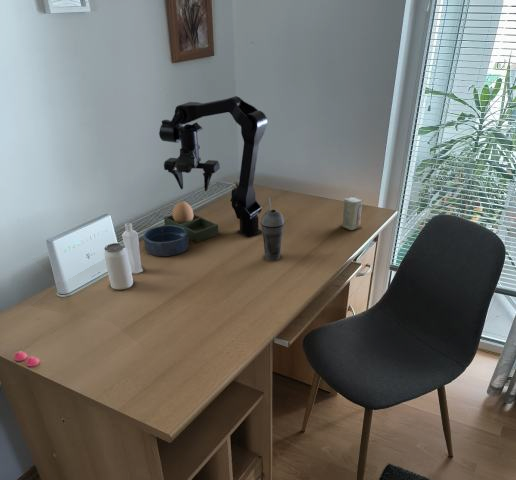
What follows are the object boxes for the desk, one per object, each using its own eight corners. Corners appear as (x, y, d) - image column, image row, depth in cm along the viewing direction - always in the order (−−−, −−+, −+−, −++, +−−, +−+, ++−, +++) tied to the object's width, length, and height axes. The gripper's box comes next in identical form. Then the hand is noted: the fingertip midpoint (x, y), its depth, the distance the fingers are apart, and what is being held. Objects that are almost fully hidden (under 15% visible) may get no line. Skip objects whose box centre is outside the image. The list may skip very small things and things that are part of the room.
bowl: (197, 247, 166) (195, 233, 163) (161, 261, 158) (159, 246, 155) (172, 235, 174) (170, 221, 171) (137, 247, 166) (135, 233, 164)
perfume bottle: (147, 268, 154) (139, 222, 145) (138, 274, 151) (130, 228, 142) (135, 266, 156) (126, 220, 147) (126, 272, 152) (117, 225, 144)
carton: (218, 234, 174) (218, 224, 172) (196, 242, 169) (195, 232, 167) (186, 219, 186) (186, 210, 184) (165, 226, 181) (163, 217, 178)
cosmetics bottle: (360, 227, 177) (363, 200, 171) (351, 230, 175) (353, 202, 169) (350, 223, 180) (352, 196, 175) (341, 226, 179) (343, 198, 173)
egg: (185, 230, 176) (183, 207, 171) (169, 226, 179) (166, 203, 174) (198, 223, 181) (196, 200, 176) (182, 219, 184) (180, 197, 179)
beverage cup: (284, 262, 156) (285, 200, 144) (261, 262, 156) (260, 200, 144) (283, 252, 162) (284, 191, 150) (261, 252, 162) (260, 192, 150)
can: (137, 281, 147) (130, 244, 140) (126, 291, 142) (118, 253, 135) (118, 278, 149) (111, 241, 142) (106, 288, 144) (98, 250, 137)
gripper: (153, 148, 164) (160, 195, 173) (207, 152, 159) (210, 199, 169) (167, 140, 172) (173, 185, 182) (218, 143, 168) (221, 189, 177)
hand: (193, 189), depth 177 cm, fingers open, 9 cm apart
